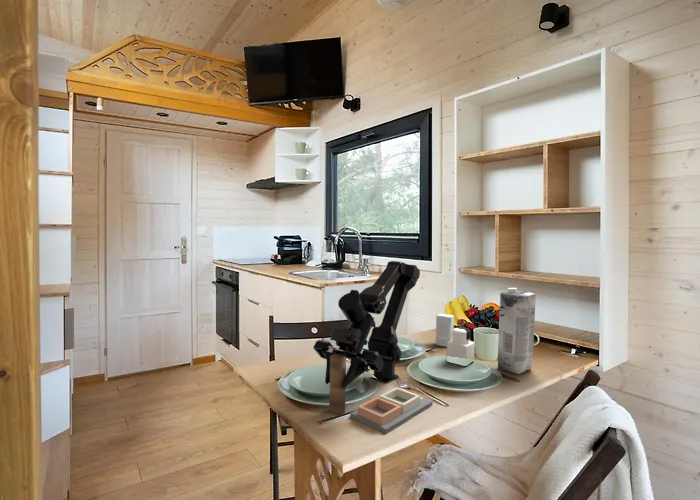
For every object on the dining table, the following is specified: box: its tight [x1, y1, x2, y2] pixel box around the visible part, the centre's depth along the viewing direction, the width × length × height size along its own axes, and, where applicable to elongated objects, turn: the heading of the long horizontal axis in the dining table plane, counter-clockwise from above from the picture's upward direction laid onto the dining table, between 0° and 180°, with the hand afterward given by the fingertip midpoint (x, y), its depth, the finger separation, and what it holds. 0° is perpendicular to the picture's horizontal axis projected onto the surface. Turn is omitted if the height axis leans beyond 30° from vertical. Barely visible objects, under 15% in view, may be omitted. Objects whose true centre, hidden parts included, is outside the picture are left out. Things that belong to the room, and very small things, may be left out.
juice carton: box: [497, 287, 537, 375], centre depth 132 cm, size 9×10×27 cm
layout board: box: [350, 386, 434, 434], centre depth 101 cm, size 20×11×3 cm, turn 137°
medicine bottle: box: [446, 326, 475, 361], centre depth 138 cm, size 7×7×12 cm
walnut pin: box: [328, 354, 347, 416], centre depth 100 cm, size 4×4×14 cm
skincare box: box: [435, 313, 455, 348], centre depth 158 cm, size 6×4×12 cm
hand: (334, 385), depth 99 cm, fingers open, 5 cm apart
